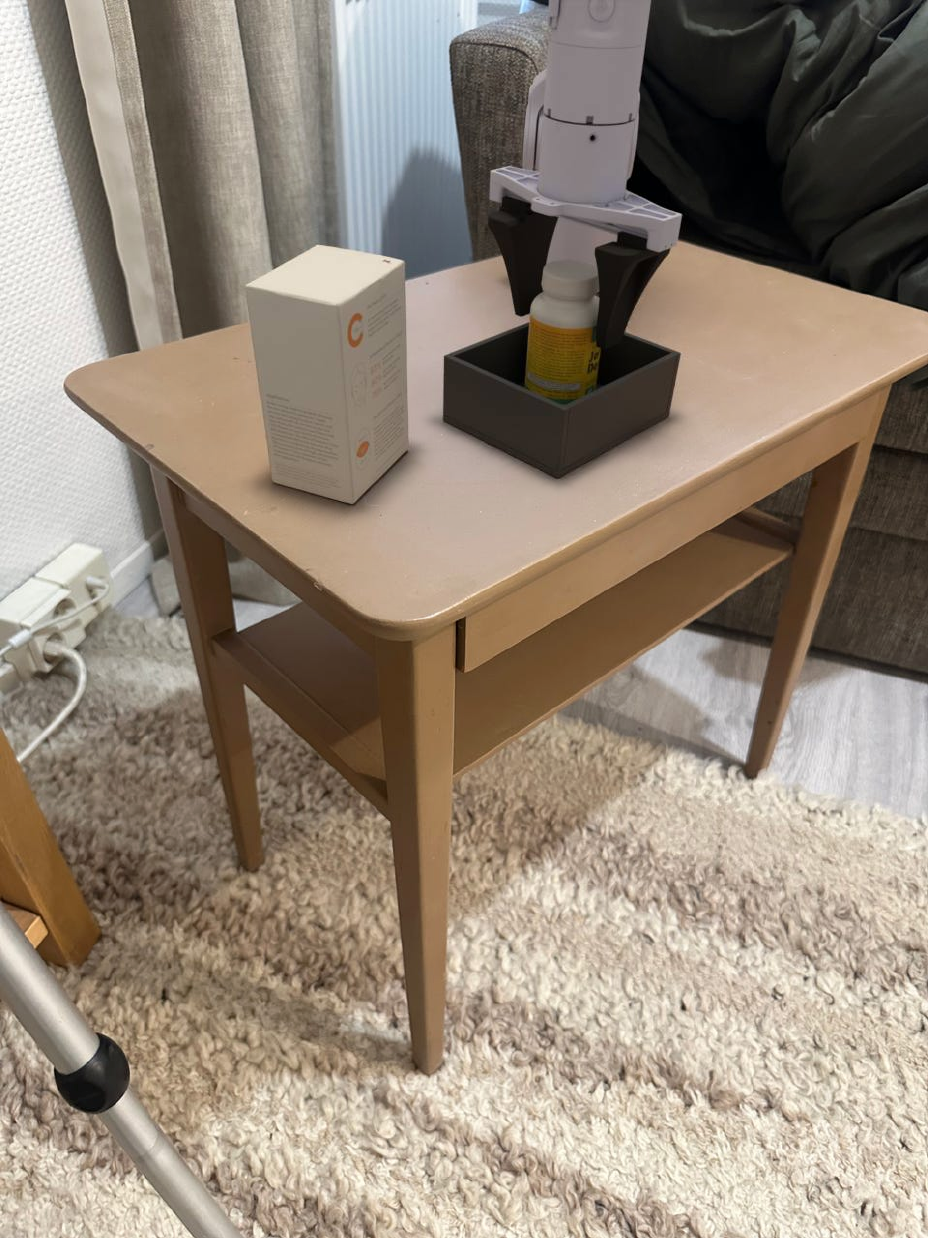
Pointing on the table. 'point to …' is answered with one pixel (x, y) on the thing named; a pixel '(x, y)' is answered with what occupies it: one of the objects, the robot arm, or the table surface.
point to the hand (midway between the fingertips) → (566, 327)
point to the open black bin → (543, 429)
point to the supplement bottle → (564, 333)
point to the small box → (332, 369)
